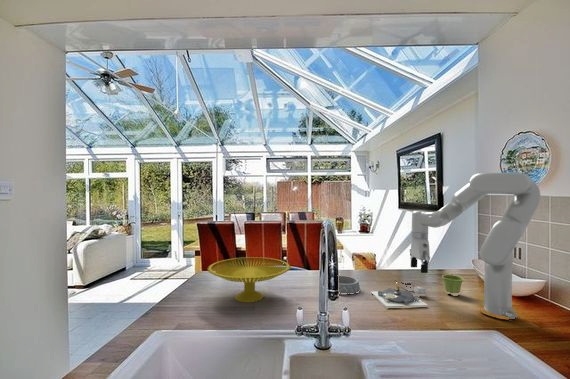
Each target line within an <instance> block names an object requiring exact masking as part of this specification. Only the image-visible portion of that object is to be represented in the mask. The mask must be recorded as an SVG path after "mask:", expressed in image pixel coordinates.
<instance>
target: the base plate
mask: <svg viewBox="0 0 570 379" xmlns="http://www.w3.org/2000/svg"><path fill="white" fill-rule="evenodd" d="M378 291H379V290H377V291H375V290H374V291H370V294H371V293H372V294H373V295H375V297H376V298H377V299H378V300H379V301H380V302H381V303H382V304H383V305H384V306H385V307H403V306H424V305H428V304H427V303H426V302H424V301H423V300H421V299H420V300H419V301H417V302H416V301H414V300H413V301H412V302H409V304H403V303H398V302H392V301H388V302H387V301H384V298H383V297H382V296H381V295H378ZM377 299H376V300H377ZM378 300H377V301H378ZM379 301H378V302H379ZM422 301H423V302H422ZM380 302H379V303H380ZM381 303H380V304H381ZM382 304H381V305H382ZM383 305H382V306H383ZM384 306H383V307H384ZM385 307H384V308H385Z"/></svg>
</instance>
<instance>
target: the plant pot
mask: <svg viewBox="0 0 570 379" xmlns="http://www.w3.org/2000/svg"><path fill="white" fill-rule="evenodd" d="M441 278H442V280H443V284H444V291H445V290H446V291H447V292H450V293H459V292H460V293H461V289H462V283H463V281H464V278H463V277H461V276H458V275H453V274H443V275H442V276H441Z"/></svg>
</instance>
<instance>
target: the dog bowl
mask: <svg viewBox="0 0 570 379" xmlns="http://www.w3.org/2000/svg"><path fill="white" fill-rule="evenodd" d="M338 276H339V292H340V294H341V293H347V294H348V293H349V294H350V293H356V292H358V291H359V290H360V291H361V286H360V283H359V279H357V278H355V277H352V276H349V275H338Z"/></svg>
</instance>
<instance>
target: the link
mask: <svg viewBox="0 0 570 379" xmlns="http://www.w3.org/2000/svg"><path fill="white" fill-rule="evenodd" d="M414 292H416V293H417V294H426V295H427V289H426V288H425V287H423V286H418V285H417V286H415V287H414V291H413V293H414Z"/></svg>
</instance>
